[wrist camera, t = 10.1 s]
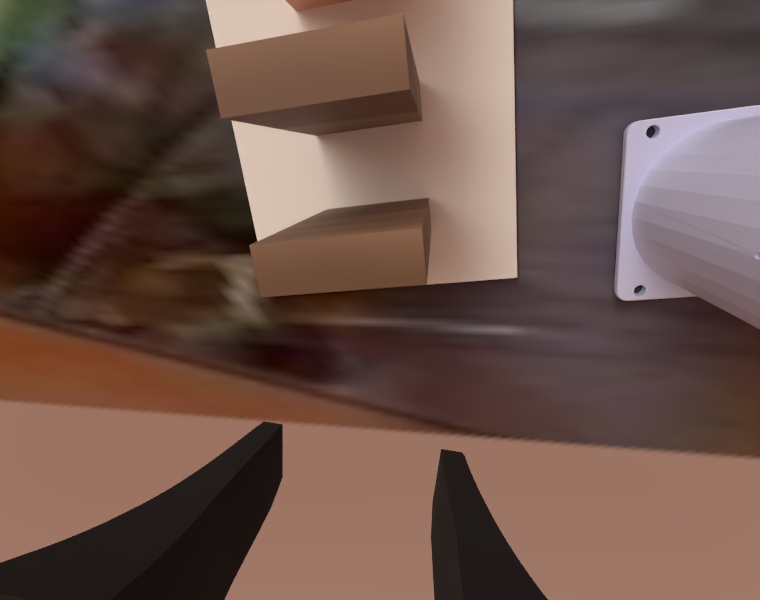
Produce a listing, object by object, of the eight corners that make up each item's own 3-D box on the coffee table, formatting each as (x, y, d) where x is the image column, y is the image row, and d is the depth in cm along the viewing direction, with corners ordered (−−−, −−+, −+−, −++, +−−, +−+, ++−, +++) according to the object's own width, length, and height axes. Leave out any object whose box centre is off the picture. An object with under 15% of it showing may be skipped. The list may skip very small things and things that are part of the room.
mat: (503, -500, 13) (505, -515, 12) (516, 275, 20) (517, 277, 20) (132, -360, 15) (126, -370, 14) (271, 294, 23) (269, 296, 22)
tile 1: (327, 208, 20) (249, 245, 12) (428, 197, 19) (421, 228, 11) (332, 240, 21) (260, 297, 12) (431, 231, 20) (426, 284, 12)
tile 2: (310, 98, 19) (206, 49, 10) (419, 81, 18) (403, 13, 9) (316, 135, 19) (221, 118, 11) (422, 120, 18) (409, 89, 10)
